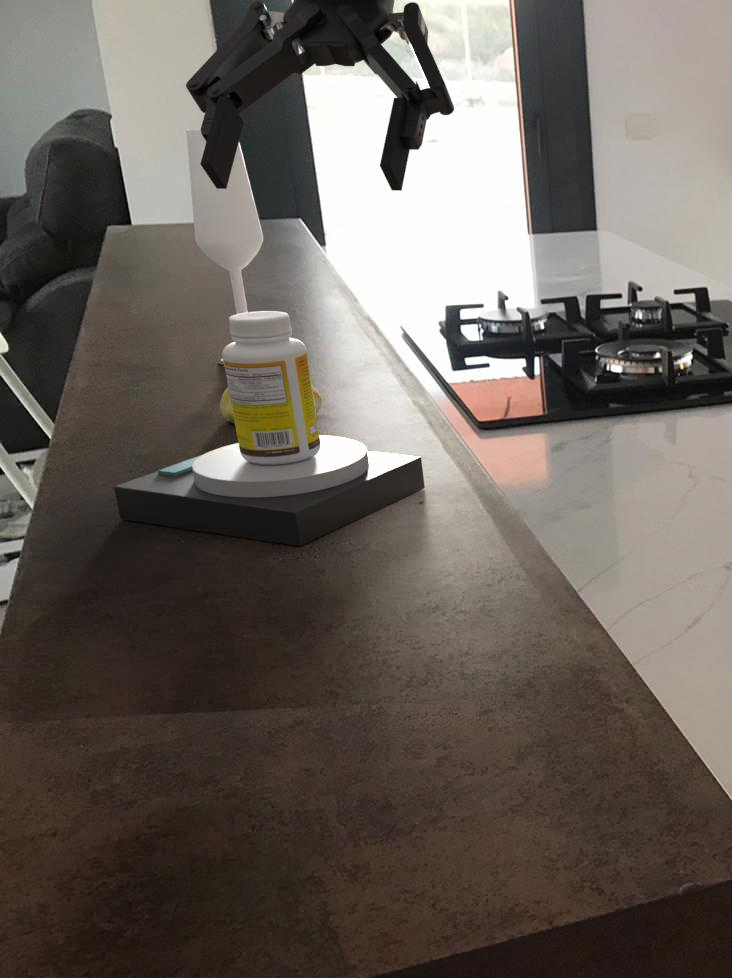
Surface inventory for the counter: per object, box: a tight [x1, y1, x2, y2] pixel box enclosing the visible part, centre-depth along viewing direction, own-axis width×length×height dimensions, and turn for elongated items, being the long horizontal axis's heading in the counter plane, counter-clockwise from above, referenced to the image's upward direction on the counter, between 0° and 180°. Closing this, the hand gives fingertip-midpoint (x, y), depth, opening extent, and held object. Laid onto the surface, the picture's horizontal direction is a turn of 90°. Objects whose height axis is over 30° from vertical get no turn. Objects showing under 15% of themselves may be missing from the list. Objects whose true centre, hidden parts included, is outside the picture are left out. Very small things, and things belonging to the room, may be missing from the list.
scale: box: [113, 434, 426, 547], centre depth 95 cm, size 16×14×4 cm
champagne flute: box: [186, 127, 264, 361], centre depth 137 cm, size 7×7×24 cm
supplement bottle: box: [221, 310, 321, 465], centre depth 92 cm, size 6×6×10 cm
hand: (301, 177), depth 96 cm, fingers open, 13 cm apart
